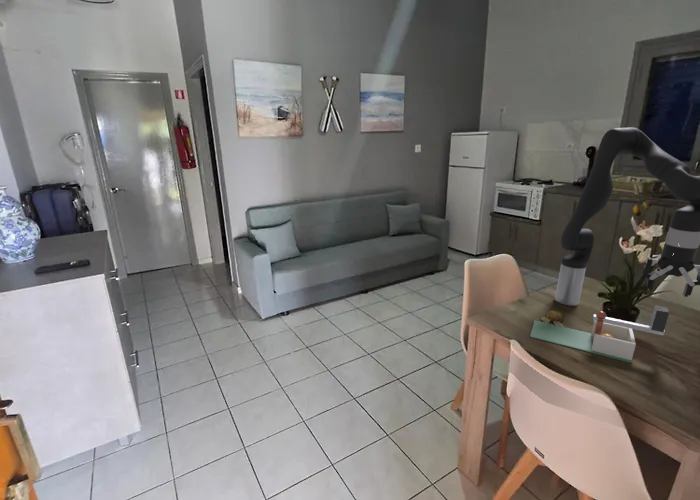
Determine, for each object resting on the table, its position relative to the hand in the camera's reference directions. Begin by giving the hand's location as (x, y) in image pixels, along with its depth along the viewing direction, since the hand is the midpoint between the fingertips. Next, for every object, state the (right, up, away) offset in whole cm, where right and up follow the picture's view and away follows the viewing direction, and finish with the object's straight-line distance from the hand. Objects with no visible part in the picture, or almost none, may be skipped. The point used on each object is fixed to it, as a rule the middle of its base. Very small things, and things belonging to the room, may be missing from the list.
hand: (666, 292), depth 112 cm
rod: (-6, -20, +11) cm, 24 cm away
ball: (-10, -18, +13) cm, 24 cm away
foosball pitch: (-17, -19, +17) cm, 31 cm away
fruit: (-19, -15, +31) cm, 39 cm away
